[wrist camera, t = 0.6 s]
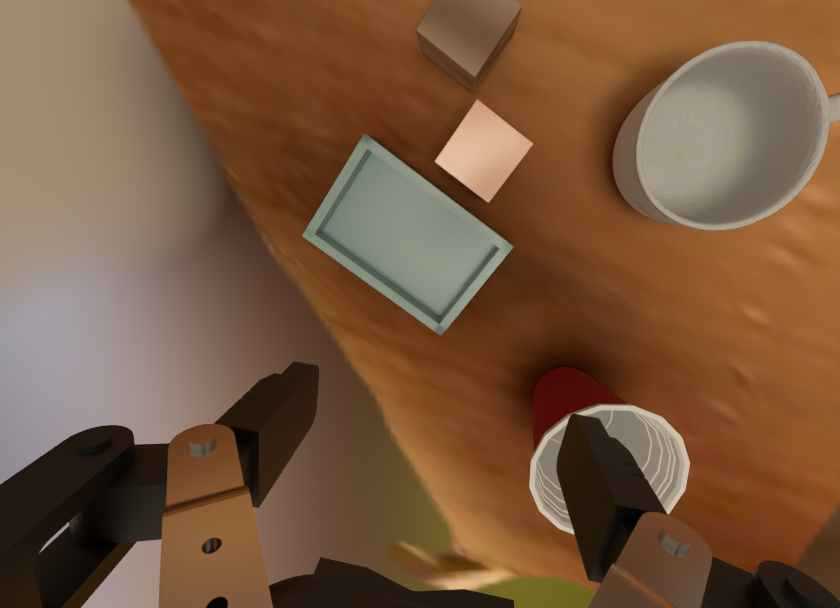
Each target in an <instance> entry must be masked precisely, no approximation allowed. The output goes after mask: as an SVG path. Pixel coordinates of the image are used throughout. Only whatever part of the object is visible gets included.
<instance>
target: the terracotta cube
mask: <svg viewBox="0 0 840 608" xmlns="http://www.w3.org/2000/svg"><path fill="white" fill-rule="evenodd" d="M532 145H533V143H532V142H530V141H529V140H528V139H526V138H525V137H524V136H523V135H521V134H520V133H519V132H518V131H516V130H515V129H514V128H513V127H511V126H510V125H509V124H508V123H506V122H505V121H504V120H503V119H501V118H500V117H499V116H497V115H496V114H495V113H494V112H492V111H491V110H490V109H489V108H487V107H486V106H485V105H484V104H482V103H481V102H480V101H479V100H476V102H475V103H474V105H473V106H472V108H471V109H470V111H469V112H468V114H467V115H466V116H465V118H464V119H463V121H462V122H461V124H460V125H459V127H458V128H457V130H456V131H455V133H454V134H453V135H452V137H451V138H450V140H449V141H448V143H447V144H446V146H445V147H444V149H443V150H442V152H441V153H440V154H439V156H438V157H437V159H436V160H435V163H437V164H438V165H439V166H440V167H441V168H442V169H444V170H445V171H446V172H448V173H449V174H450V175H452V176H453V177H454V178H456V179H457V180H458V181H459V182H461V183H462V184H463V185H465V186H466V187H467V188H469V189H470V190H471V191H472V192H474V193H475V194H476V195H478V196H479V197H480V198H482V199H483V200H484V201H486V202H488V203H489V202H490V200H491V199H492V198H493V196H494V195H495V194H496V193H497V191H498V190H499V189H500V187H501V186H502V185H503V183H504V182H505V181H506V179H507V178H508V177H509V175H510V174H511V173H512V171H513V170H514V169H515V167H516V166H517V165H518V163H519V162H520V161H521V160H522V158H523V157H524V156H525V154H526V153H527V152H528V150H529V149H530V148H531V146H532Z"/></svg>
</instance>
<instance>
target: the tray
mask: <svg viewBox="0 0 840 608" xmlns="http://www.w3.org/2000/svg"><path fill="white" fill-rule="evenodd" d="M302 236H303V237H304V238H306V239H307V240H308V241H310V242H311V243H313V244H314V245H315V246H317V247H318V248H319V249H321V250H322V251H324V252H325V253H326V254H328V255H329V256H331V257H332V258H333V259H335V260H336V261H338V262H339V263H340V264H342V265H343V266H344V267H346V268H347V269H349V270H350V271H351V272H353V273H354V274H356V275H357V276H358V277H360V278H361V279H363V280H364V281H365V282H367V283H368V284H369V285H371V286H372V287H374V288H375V289H376V290H378V291H379V292H381V293H382V294H383V295H385V296H386V297H387V298H389V299H390V300H392V301H393V302H394V303H396V304H397V305H399V306H400V307H401V308H403V309H404V310H406V311H407V312H408V313H410V314H411V315H412V316H414V317H415V318H417V319H418V320H419V321H421V322H422V323H424V324H425V325H426V326H428V327H429V328H431V329H432V330H433V331H435V332H436V333H437V334H439V335H440V336H442V334H443V333H444V332H445V331H446V329H447V328H448V327H449V326H450V325H451V323H452V322H453V321H454V320H455V318H456V317H457V316H458V315H459V313H460V312H461V311H462V310H463V309H464V307H465V306H466V305H467V304H468V302H469V301H470V300H471V299H472V297H473V296H474V295H475V294H476V293H477V291H478V290H479V289H480V288H481V286H482V285H483V284H484V283H485V281H486V280H487V279H488V278H489V277H490V275H491V274H492V273H493V272H494V270H495V269H496V268H497V267H498V265H499V264H500V263H501V262H502V261H503V259H504V258H505V257H506V256H507V254H508V253H509V252H510V251H511V249H512V248H513V245H512V244H511V243H510V242H508V241H507V240H506V239H505V238H503V237H502V236H501V235H499V234H498V233H497V232H495V231H494V230H493V229H491V228H490V227H489V226H487V225H486V224H485V223H483V222H482V221H481V220H480V219H478V218H477V217H476V216H474V215H473V214H472V213H470V212H469V211H468V210H466V209H465V208H464V207H462V206H461V205H460V204H459V203H457V202H456V201H455V200H453V199H452V198H451V197H449V196H448V195H447V194H445V193H444V192H443V191H441V190H440V189H439V188H437V187H436V186H435V185H434V184H432V183H431V182H430V181H428V180H427V179H426V178H424V177H423V176H422V175H420V174H419V173H418V172H416V171H415V170H414V169H412V168H411V167H410V166H409V165H407V164H406V163H405V162H403V161H402V160H401V159H399V158H398V157H397V156H395V155H394V154H393V153H391V152H390V151H389V150H388V149H386V148H385V147H384V146H382V145H381V144H380V143H378V142H377V141H376V140H374V139H373V138H372V137H370V136H368V135H366V134H365V133H364V135H363V137H362V138H361V140H360V142H359V143H358V145H357V146H356V148H355V150H354V151H353V153H352V155H351V156H350V158H349V160H348V161H347V163H346V165H345V166H344V168H343V169H342V171H341V173H340V174H339V176H338V178H337V179H336V181H335V183H334V184H333V186H332V188H331V189H330V191H329V193H328V194H327V196H326V197H325V199H324V201H323V202H322V204H321V206H320V207H319V209H318V211H317V212H316V214H315V216H314V217H313V219H312V221H311V222H310V224H309V225H308V227H307V229H306V230H305V232H304V234H303V235H302Z"/></svg>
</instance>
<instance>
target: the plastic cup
mask: <svg viewBox="0 0 840 608" xmlns="http://www.w3.org/2000/svg"><path fill="white" fill-rule="evenodd" d="M571 414H579V415H585V416H590V417H595V418H599V419H600V420H601V422H602V424H603V426H604V428H605V429H606V431H607V433H608V435H609V437H612V438H616V439H617V440H618V441H620V442H621V443H622V444H623V445H624V446H625V447H626V448H627V449H628V450H629V451H630V452H631V454H632V455H633V457H634V459H635V460H636V462H637V464H638V467H640V469H641V470H642V472H643V474H644V475H645V479H647V480H648V482H649V484H650V485H651V487H652V489H653V491H654V492H655V494H656V496H657V497H658V499H659V501H660V502H661V504H662V506H663V507H664V509H665V511H666V512H667V514H669V513H670V512H671V510H672V509H673V507H674V506H675V504H676V503H677V501H678V500H679V498H680V497H681V495H682V494H683V493H684V491H685V489H686V483H687V478H688V472H689V466H690V462H689V458H688V455H687V452H686V448H685V445H684V442H683V439H682V437H681V436H680V435H679V434H678V433H677V432H676V431H675V430H674V429H673V428H672V427H671V426H670V425H669V423H668V422H667V421H666V420H665V419H664V418H663V417H661V416H658V415H656V414H653V413H651V412H648V411H646V410H643V409H641V408H638V407H636V406H633V405H631V404H627V403H625V402H624V401H623V400H621V399H620V398H619V397H617V396H616V395H615V394H614V393H612V392H611V391H610V390H608V389H607V388H606V387H604V386H603V385H602V384H601V383H599V382H596V381H595V380H594V379H593V378H592V377H590V376H589V375H588V374H587V373H585V372H583V371H580V370H578V369H575V368H573V367H558V368H555V369H552V370H549V371H548V372H547V373H545V374H544V375H543V376H541V377H540V379H539V380H538V382H537V384H536V386H535V389H534V396H533V439H534V452H533V455H532V457H531V469H530V485H529V487H530V490H531V492H532V495H533V497H534V499H535V502H536V504H537V506H538V509H539V511H540V512H541V513H542V514H543V515H544V516H546V517H547V518H548V519H549V520H550V521H551V522H552V523H553V524H554V525H555V526H557V527H558V528H559V529H561V530H564V531H566V532H569V533H572V534H574V530H573V527H572V524H571V520H570V517H569V514H568V510H567V507H566V504H565V500H564V497H563V494H562V490H561V487H560V484H559V480H558V477H557V469H556V465H557V456H558V453H559V449H560V446H561V443H562V439H563V436H564V433H565V430H566V426H567V423H568V420H569V417H570V416H571ZM574 535H575V534H574Z"/></svg>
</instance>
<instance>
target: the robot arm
mask: <svg viewBox="0 0 840 608" xmlns="http://www.w3.org/2000/svg"><path fill="white" fill-rule="evenodd" d="M318 380H319V368H318V366H317V365H312V364H307V363H301V362H296V361H295V362H293V363H292V364H291V365H290V366H289V367H288V368H287V369H286V370H285V371H284V372H283V373H282V374H275V373H274V374H272V375H270V376H268V377H266V378H263V379H261V380H259V382H257V383H256V384H255V385H254V386H253V387H252V388H251V389H250V391H248V392H247V393H246V394H245V395H244V396H243V397H242V399H240V400H238V401H237V402H236V403H235V404H234V405H233V406H232V407H231V408H230V409H229V410H228V411H227V412H226V413H225V414H224V415H223V416H221V418H219V420H217V421H216V422H215V423H214V424H204V425H199V426H195V427H192V428H189V429H187V430H185V431H183V432H181V433H180V434H178V435H177V436H176V437H174V438H173V439H172V441H171V442H170V443H168V444H143V445H142V444H141V445H135V444H134V435H133V432H132V431H131V430H129V429H128V428H126V427H123V426H117V425H108V426H100V427H95V428H91V429H87V430H84V431H82V432H79V433H77V434H75V435H73V436H71V437H69V438H68V439H66V440H64V441H63V442H61V443H60V444H59V445H57V446H56V447H54V448H53V449H51V450H50V451H48V452H47V453H46V454H44V455H43V456H41V457H40V458H38V459H37V460H35V461H34V462H33V463H31V464H30V465H28V466H27V467H25V468H24V469H22V470H21V471H20V472H18V473H16V474H15V475H14V476H12V477H11V478H9V479H8V480H6V481H5V482H3V483H2V484H1V485H0V608H81V607H82V605H83V604H84V603H85V602H86V601H87V600H88V598H89V597H90V596H91V595H92V594H93V593H94V591H95V590H96V589H97V588H98V587H99V585H100V584H101V583H102V582H103V581H104V580H105V578H106V577H107V576H108V575H109V574H110V572H111V571H112V570H113V569H114V568H115V567H116V565H117V564H118V563H119V562H120V561H121V560H122V558H123V557H124V556H125V555H126V554H127V553H128V551H129V550H130V549H131V548H132V547H133V545H134V544H135V543H136V542H137V541H147V540H158V539H162V541H161V566H160V587H159V608H514V602H513V600H510V599H506V598H501V597H497V596H492V595H488V594H483V593H479V592H474V591H470V590H465V589H462V590H440V591H419V592H418V591H411V590H409V589H407V588H405V587H403V586H401V585H399V584H397V583H395V582H393V581H392V580H390V579H388V578H386V577H384V576H382V575H380V574H378V573H376V572H374V571H372V570H370V569H368V568H366V567H362V566H357V565H353V564H348V563H343V562H339V561H335V560H330V559H326V558H320V560H319V563H318V565H317V567H316V570H315V572H314V574H310V575H309V574H308V575H301V576H295V577H292V578H288V579H285V580H282V581H279V582H277V583H274V584H272V585H270V586H269V585H268V580H267V575H266V570H265V565H264V561H263V555H262V550H261V545H260V540H259V536H258V531H257V526H256V521H255V516H254V511H253V507H258V508H259V507H260V505H261V503H262V502H263V500H264V499H265V497H266V496H267V494H268V493H269V491H270V490H271V488H272V486H273V485H274V483H275V482H276V480H277V479H278V477H279V476H280V474H281V473H282V471H283V469H284V468H285V466H286V465H287V463H288V462H289V460H290V459H291V457H292V456H293V454H294V452H295V451H296V449H297V448H298V446H299V445H300V443H301V442H302V440H303V439H304V437H305V435H306V434H307V432H308V431H309V429H310V427H311V426H312V424H313V421H314V418H315V414H316V410H317V396H318ZM556 469H557V477H558V480H559V484H560V487H561V490H562V494H563V497H564V500H565V504H566V507H567V510H568V514H569V517H570V520H571V524H572V527H573V530H574V534H575V537H576V540H577V544H578V547H579V550H580V554H581V557H582V560H583V564H584V567H585V571H586V574H587V577H588V580H590V581H594V582H599V583H601V585H600V587H599V588H598V590H597V592H596V594H595V596H594V598H593V599H592V601H591V603H590V605H589V607H588V608H840V602H839V601H838V599H837V598H836V597H835V596H834V595H833V594H832V593H831V592H829V591H828V590H827V589H826V588H825V587H824V586H822V585H821V584H820V583H818V582H817V581H815V580H814V579H812V578H811V577H810V576H808V575H806V574H805V573H803V572H801V571H799V570H797V569H795V568H793V567H791V566H789V565H786V564H784V563H780V562H776V561H763V562H761V563H760V564H759V566H758V567H757V569H756V571H755V573H754V575H753V574H751V573H749V572H747V571H744V570H742V569H740V568H737V567H735V566H733V565H731V564H728V563H726V562H724V561H721V560H719V559H717V558H715V557H713V556H712V554H711V551H710V549H709V547H708V546H707V544H706V543H705V541H704V540H703V539H702V538H701V537H700V536H699V535H698V534H697V533H696V532H695V531H694V530H693V529H691V528H690V527H689V526H687V525H686V524H684V523H683V522H681V521H679V520H678V519H676V518H674V517H671V516H669V515H668V514H667V512H666V511H665V509H664V507H663V506H662V504H661V502H660V501H659V499H658V497H657V496H656V494H655V492H654V491H653V489H652V487H651V485H650V484H649V482H648V480H647V479H645V475H644V474H643V472H642V470H641V469H640V467H638V464H637V462H636V460H635V459H634V457H633V455H632V454H631V452H630V451H629V450H628V449H627V448H626V447H625V446H624V445H623V444H622V443H621V442H620V441H618V440H617V439H616V438H612V437H609V435H608V433H607V431H606V429H605V428H604V426H603V424H602V422H601V420H600V419H599V418H595V417H590V416H585V415H579V414H571V416H570V417H569V420H568V423H567V426H566V430H565V433H564V436H563V439H562V443H561V446H560V449H559V453H558V456H557V465H556ZM68 522H69V527H68V528H66V529H65V530H64V531H63V532H62V533H61V534H60V535H59V536H58V537H57V538H56V539H54V540H53V541H52V542H51V543H50V544H49V545H48V546H47V547H46V548H45V549H44V550H43V551H42V552H40V550H41V549H42V547H43V546H44V545H45V544H46V542H47V541H48V540H49V539H50V538H52V537H53V536H54V535H55V534H56V533H57V532H58V531H59V530H60V529H61V528H62V527H64V526H65V525H66V524H67V523H68ZM39 552H40V553H39Z"/></svg>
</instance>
